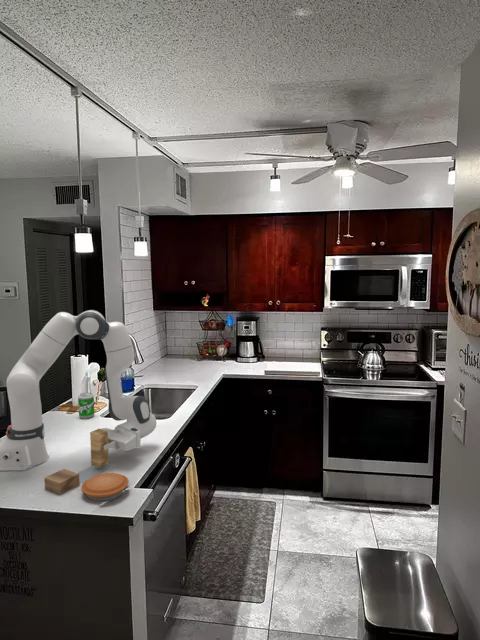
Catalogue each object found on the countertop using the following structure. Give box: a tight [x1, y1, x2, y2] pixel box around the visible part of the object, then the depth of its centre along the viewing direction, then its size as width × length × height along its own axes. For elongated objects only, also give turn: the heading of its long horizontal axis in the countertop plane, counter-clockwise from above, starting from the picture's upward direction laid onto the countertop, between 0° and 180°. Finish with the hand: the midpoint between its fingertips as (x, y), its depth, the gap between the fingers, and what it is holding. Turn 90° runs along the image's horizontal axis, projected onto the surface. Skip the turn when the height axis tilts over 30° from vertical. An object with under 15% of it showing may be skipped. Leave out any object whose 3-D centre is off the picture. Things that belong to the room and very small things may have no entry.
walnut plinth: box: [43, 468, 81, 495], centre depth 156 cm, size 8×8×4 cm
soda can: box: [77, 392, 95, 420], centre depth 229 cm, size 8×8×12 cm
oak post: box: [89, 428, 110, 468], centre depth 170 cm, size 4×4×13 cm
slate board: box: [61, 463, 116, 495], centre depth 163 cm, size 24×8×1 cm, turn 149°
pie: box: [80, 472, 130, 503], centre depth 153 cm, size 15×16×5 cm
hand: (97, 446), depth 169 cm, fingers closed on oak post, 4 cm apart
